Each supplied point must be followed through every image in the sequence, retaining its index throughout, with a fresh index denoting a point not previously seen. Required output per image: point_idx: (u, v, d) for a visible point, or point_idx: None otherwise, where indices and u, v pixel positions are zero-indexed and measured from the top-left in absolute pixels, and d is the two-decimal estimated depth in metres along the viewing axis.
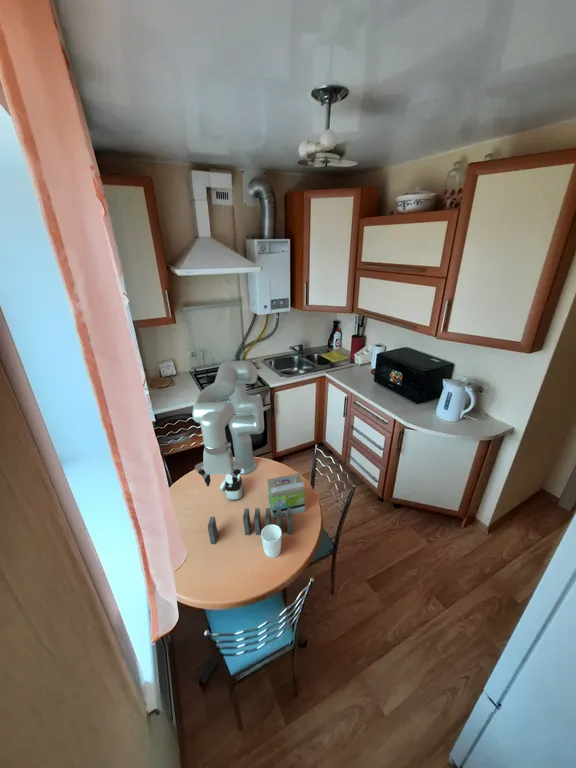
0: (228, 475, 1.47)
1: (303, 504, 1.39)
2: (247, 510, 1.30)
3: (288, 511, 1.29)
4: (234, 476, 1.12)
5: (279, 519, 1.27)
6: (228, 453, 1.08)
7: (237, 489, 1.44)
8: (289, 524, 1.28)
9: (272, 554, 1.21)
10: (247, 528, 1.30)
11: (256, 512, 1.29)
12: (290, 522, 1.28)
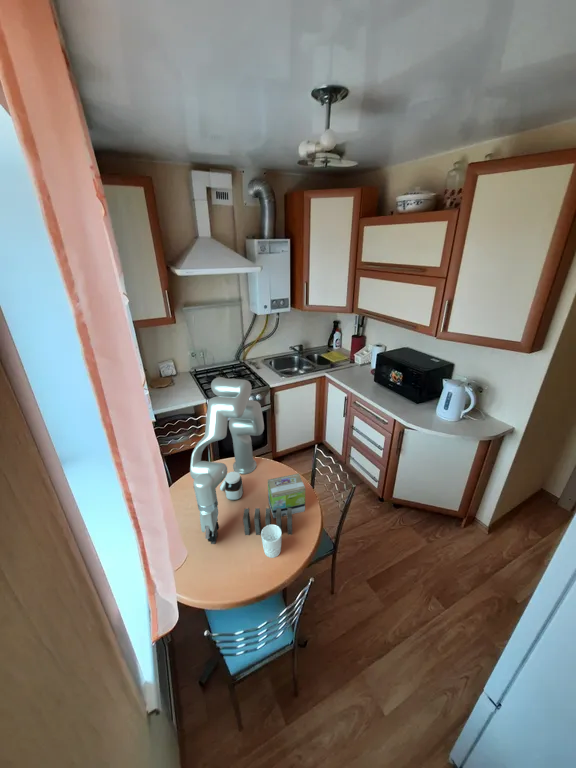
0: (228, 475, 1.47)
1: (303, 504, 1.39)
2: (247, 510, 1.30)
3: (288, 511, 1.29)
4: (217, 520, 1.30)
5: (279, 519, 1.27)
6: None
7: (237, 489, 1.44)
8: (289, 524, 1.28)
9: (272, 554, 1.21)
10: (247, 528, 1.30)
11: (256, 512, 1.29)
12: (290, 523, 1.28)
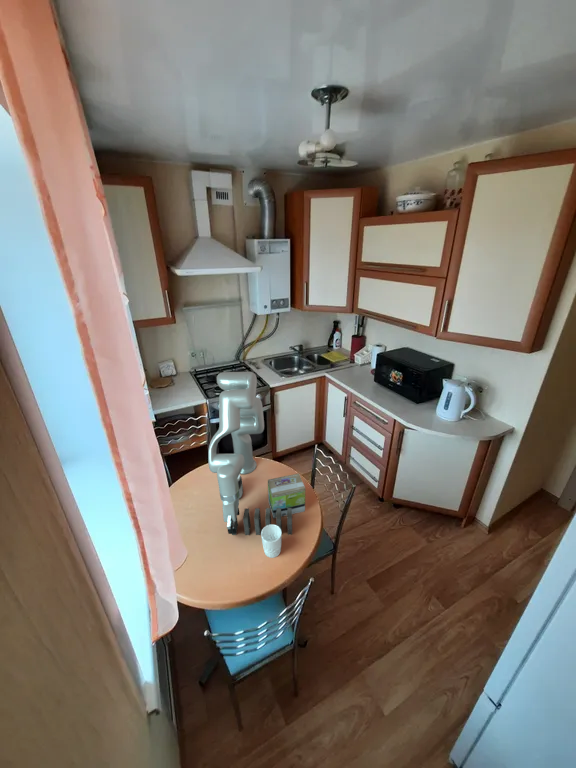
0: None
1: (303, 504, 1.39)
2: (247, 510, 1.30)
3: (288, 511, 1.29)
4: None
5: (279, 519, 1.27)
6: None
7: None
8: (289, 524, 1.28)
9: (272, 554, 1.21)
10: (247, 528, 1.30)
11: (256, 512, 1.29)
12: (290, 523, 1.28)
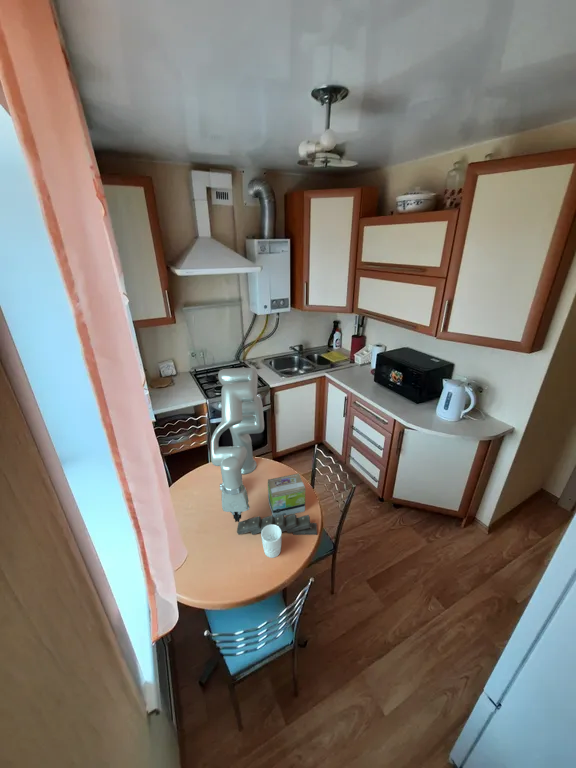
0: None
1: (303, 504, 1.39)
2: (273, 519, 1.33)
3: (316, 527, 1.33)
4: None
5: (308, 527, 1.30)
6: None
7: None
8: (307, 534, 1.31)
9: (272, 554, 1.21)
10: (260, 531, 1.30)
11: (283, 519, 1.32)
12: (309, 534, 1.31)
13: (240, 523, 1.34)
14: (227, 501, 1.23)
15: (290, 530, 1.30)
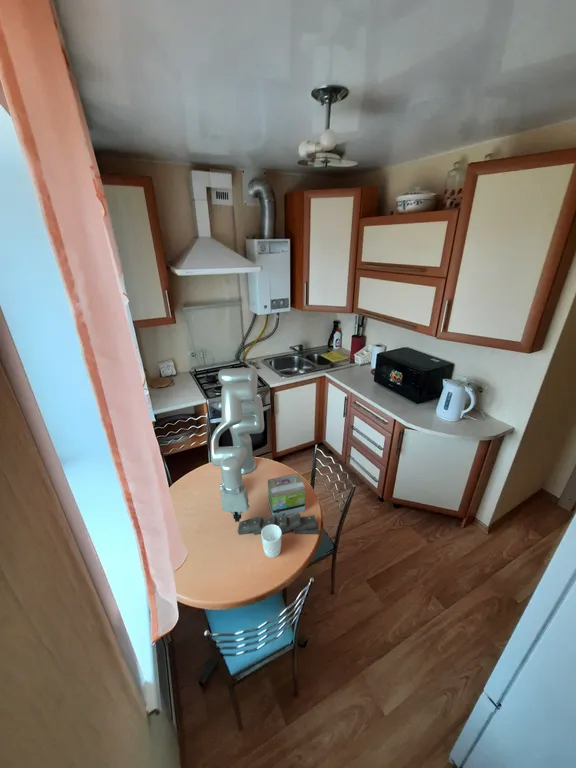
0: None
1: (303, 504, 1.39)
2: (275, 519, 1.33)
3: None
4: None
5: (315, 526, 1.32)
6: None
7: None
8: None
9: (272, 554, 1.21)
10: None
11: (286, 519, 1.32)
12: None
13: (241, 523, 1.34)
14: (227, 501, 1.23)
15: (297, 528, 1.31)
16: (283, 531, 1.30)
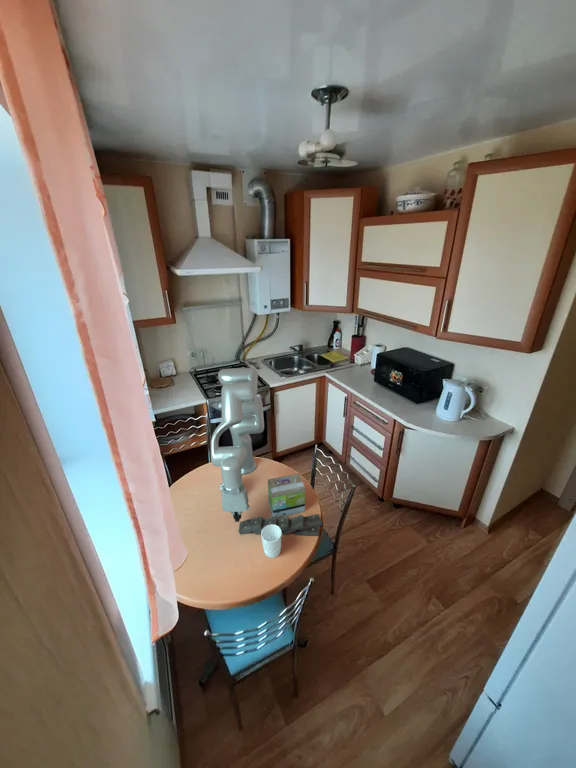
0: None
1: (303, 504, 1.39)
2: (277, 520, 1.33)
3: (318, 529, 1.33)
4: None
5: (320, 525, 1.33)
6: None
7: None
8: (309, 535, 1.30)
9: (272, 554, 1.21)
10: None
11: (288, 521, 1.31)
12: None
13: (242, 523, 1.34)
14: (227, 501, 1.23)
15: (303, 527, 1.31)
16: (286, 532, 1.30)
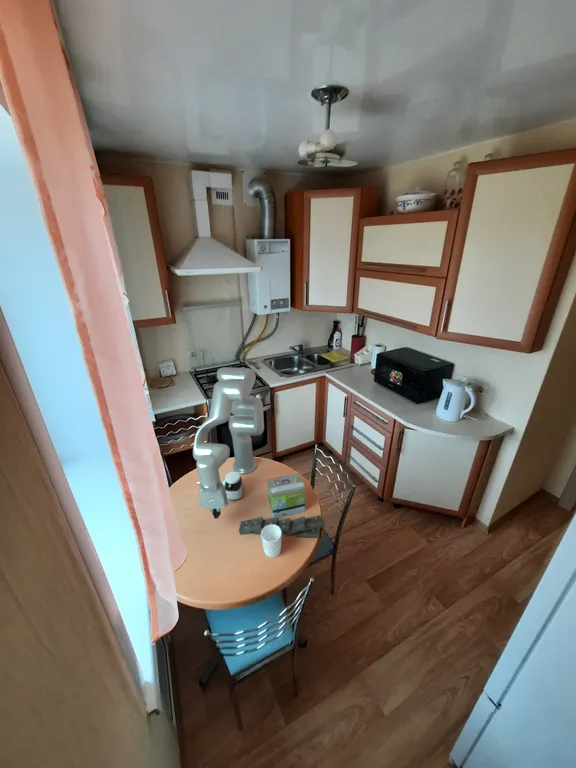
0: (228, 475, 1.47)
1: (303, 504, 1.39)
2: (277, 521, 1.33)
3: None
4: None
5: (322, 526, 1.32)
6: None
7: (237, 489, 1.44)
8: (310, 537, 1.29)
9: (272, 554, 1.21)
10: None
11: (290, 522, 1.31)
12: (312, 537, 1.29)
13: (242, 523, 1.34)
14: (204, 498, 1.22)
15: (306, 528, 1.30)
16: (287, 533, 1.30)
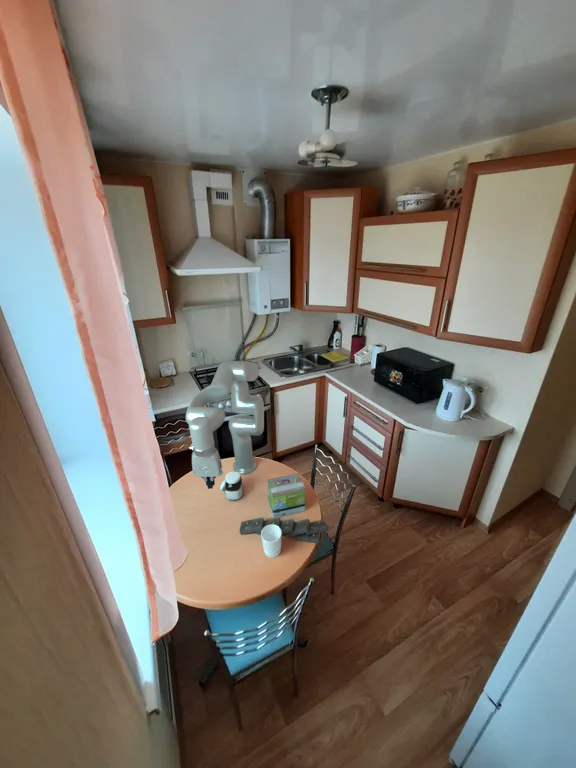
0: (228, 475, 1.47)
1: (303, 504, 1.39)
2: (280, 521, 1.32)
3: (319, 535, 1.29)
4: None
5: (326, 529, 1.31)
6: None
7: (237, 489, 1.44)
8: (309, 541, 1.27)
9: (272, 554, 1.21)
10: None
11: (293, 524, 1.30)
12: (311, 542, 1.27)
13: (243, 523, 1.34)
14: (197, 465, 1.14)
15: (309, 531, 1.28)
16: (290, 535, 1.29)
